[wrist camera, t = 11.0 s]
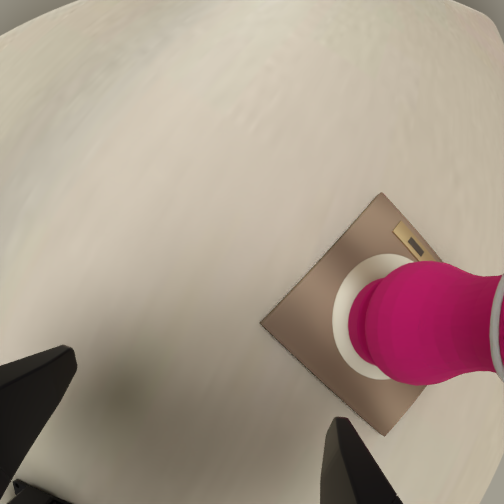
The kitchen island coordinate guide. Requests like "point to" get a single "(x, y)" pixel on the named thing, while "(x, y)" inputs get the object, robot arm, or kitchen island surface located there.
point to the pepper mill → (430, 323)
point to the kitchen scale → (338, 308)
